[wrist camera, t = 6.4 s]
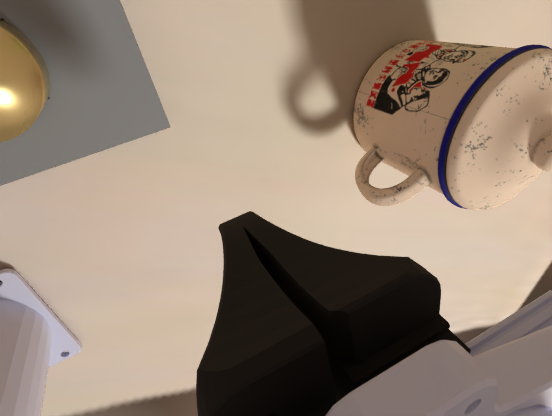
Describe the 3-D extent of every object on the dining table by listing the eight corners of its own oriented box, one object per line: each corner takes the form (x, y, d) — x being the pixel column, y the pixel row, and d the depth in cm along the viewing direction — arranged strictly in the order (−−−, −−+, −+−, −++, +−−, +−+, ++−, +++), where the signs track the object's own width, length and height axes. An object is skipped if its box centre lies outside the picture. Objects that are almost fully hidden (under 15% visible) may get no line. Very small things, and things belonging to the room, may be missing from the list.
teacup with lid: (430, 5, 23) (651, 1, 14) (456, 111, 29) (626, 159, 19) (294, 120, 23) (425, 195, 14) (346, 205, 28) (465, 299, 19)
